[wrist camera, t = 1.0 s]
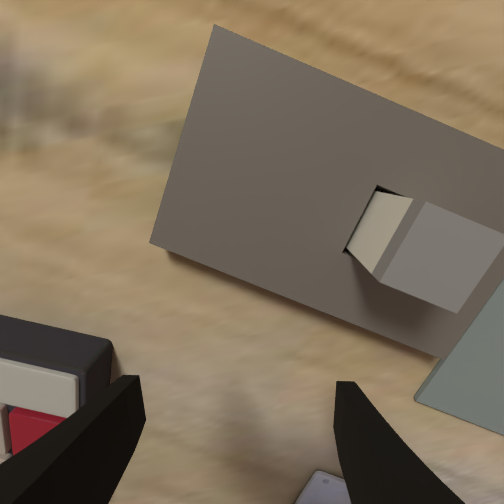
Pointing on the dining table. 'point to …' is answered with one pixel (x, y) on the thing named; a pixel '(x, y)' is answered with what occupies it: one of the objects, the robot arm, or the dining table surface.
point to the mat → (473, 371)
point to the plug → (423, 249)
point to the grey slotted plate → (317, 187)
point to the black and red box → (45, 378)
